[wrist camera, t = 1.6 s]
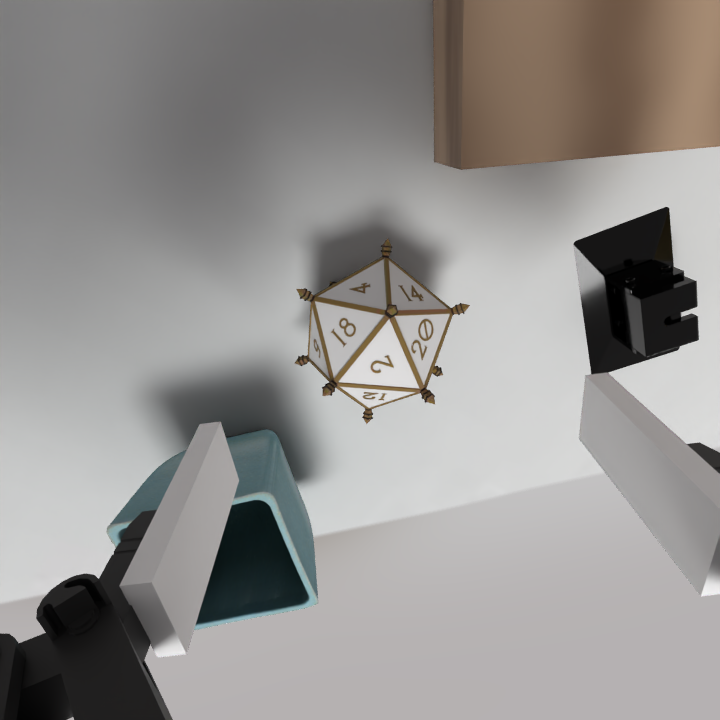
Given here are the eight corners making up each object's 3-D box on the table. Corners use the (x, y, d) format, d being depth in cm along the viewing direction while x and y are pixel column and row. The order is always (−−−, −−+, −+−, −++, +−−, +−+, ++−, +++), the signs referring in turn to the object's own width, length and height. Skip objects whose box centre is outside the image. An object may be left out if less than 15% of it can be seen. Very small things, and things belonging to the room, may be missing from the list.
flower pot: (161, 425, 31) (99, 529, 23) (288, 395, 30) (270, 491, 22) (211, 519, 35) (173, 636, 27) (324, 494, 34) (320, 606, 26)
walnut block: (433, 161, 24) (460, 169, 19) (431, -119, 20) (467, -215, 14) (638, 143, 24) (723, 145, 19) (687, -141, 20) (820, -245, 14)
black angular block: (684, 358, 31) (737, 393, 27) (577, 393, 32) (613, 432, 28) (675, 172, 26) (740, 180, 21) (546, 220, 26) (585, 236, 22)
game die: (358, 263, 30) (381, 174, 20) (459, 345, 30) (531, 295, 20) (266, 365, 28) (243, 320, 18) (372, 454, 28) (406, 457, 18)
